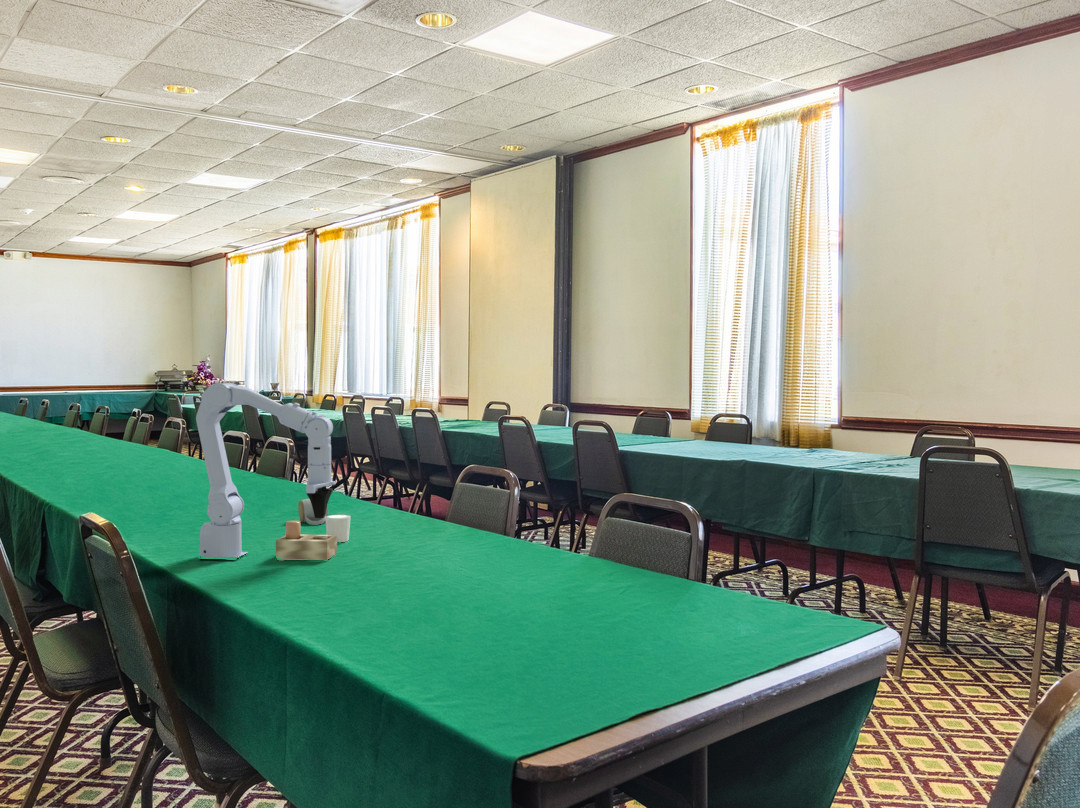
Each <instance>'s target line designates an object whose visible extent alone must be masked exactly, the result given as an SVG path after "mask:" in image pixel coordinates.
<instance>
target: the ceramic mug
mask: <svg viewBox="0 0 1080 808" xmlns="http://www.w3.org/2000/svg"><path fill="white" fill-rule="evenodd" d="M328 504H329V503H328ZM328 504H327V509H326V514H325V517H326V516H329V506H328ZM297 507H298V509H297V510H298V519H299V521H300V523H305V522H307V524H308V525H310V524H311V525H310V526H319V525H318V524H321V525H323V524H324V523H326V521H325V517H324V518H315V516H314V512H313V508H312V504H311V501H310V499H309V498H304V499H301V500H300V501H299V502H298V506H297Z"/></svg>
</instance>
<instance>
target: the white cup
mask: <svg viewBox="0 0 1080 808" xmlns="http://www.w3.org/2000/svg"><path fill="white" fill-rule="evenodd" d="M350 526H351V515H349V514H339V513H337V514H331V515H329V514H328V516H326V517H325V529H326V535H337V542H345V541H348V540H349V539H350V538H349V537H350V529H351V528H350ZM349 541H350V540H349ZM349 541H348V542H349ZM345 543H346V542H345Z"/></svg>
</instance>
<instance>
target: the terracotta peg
mask: <svg viewBox="0 0 1080 808" xmlns="http://www.w3.org/2000/svg"><path fill="white" fill-rule="evenodd" d="M301 527H302V526H301V521H300V520H287V521H285V535H286V539H300V538H301V531H302V530H301Z"/></svg>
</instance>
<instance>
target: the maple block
mask: <svg viewBox="0 0 1080 808" xmlns="http://www.w3.org/2000/svg"><path fill="white" fill-rule="evenodd" d="M315 536H327V537H328V539H327V540H313V537H315ZM337 545H338V543H337V535H327V534H308V533H307V534H301V538H300V539H286V534H284V535H283V536H281V537H280V538H278V539H276V540H275V559H276V558H281V559H308V560H328V559H329V558H331V557H332V556H333V555H335V554H336V553H337V552H338V548H337V547H338V546H337ZM337 554H338V553H337ZM337 554H336V555H337ZM336 555H335V556H336ZM332 558H333V557H332ZM332 558H331V559H332ZM328 561H329V560H328Z"/></svg>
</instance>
